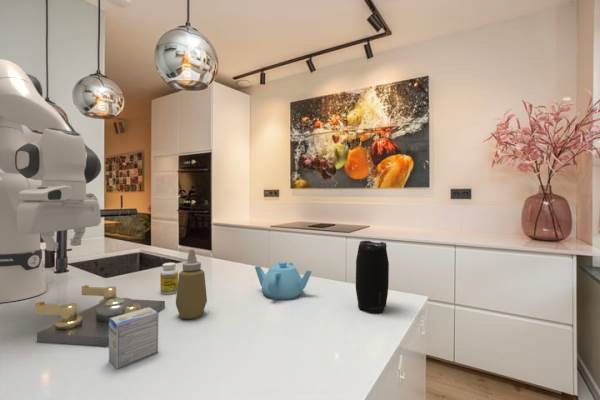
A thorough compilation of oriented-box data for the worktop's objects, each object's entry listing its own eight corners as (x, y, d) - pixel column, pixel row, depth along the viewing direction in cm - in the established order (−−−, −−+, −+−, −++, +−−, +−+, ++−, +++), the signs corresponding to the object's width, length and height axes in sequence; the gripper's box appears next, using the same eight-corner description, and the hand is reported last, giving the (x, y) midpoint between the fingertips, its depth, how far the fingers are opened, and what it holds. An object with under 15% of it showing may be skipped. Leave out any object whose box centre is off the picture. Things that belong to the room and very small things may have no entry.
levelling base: (36, 342, 65) (36, 316, 65) (110, 305, 87) (110, 286, 87) (108, 346, 63) (108, 320, 63) (164, 307, 85) (164, 288, 85)
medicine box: (149, 345, 64) (149, 306, 64) (158, 352, 61) (159, 311, 61) (108, 361, 58) (108, 317, 58) (116, 370, 55) (116, 324, 55)
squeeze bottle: (173, 323, 75) (173, 253, 75) (177, 310, 83) (178, 247, 83) (206, 319, 77) (206, 251, 77) (207, 308, 85) (208, 246, 85)
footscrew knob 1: (87, 320, 71) (87, 301, 71) (69, 329, 66) (69, 308, 66) (48, 317, 72) (48, 299, 72) (27, 327, 67) (27, 306, 67)
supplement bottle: (176, 288, 102) (176, 261, 102) (179, 293, 98) (179, 264, 98) (159, 291, 99) (159, 263, 99) (161, 296, 95) (161, 266, 95)
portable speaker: (353, 302, 91) (354, 239, 91) (384, 304, 90) (385, 240, 90) (357, 313, 82) (358, 244, 82) (391, 315, 82) (392, 245, 82)
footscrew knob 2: (124, 301, 84) (124, 284, 84) (111, 307, 79) (111, 290, 79) (90, 299, 85) (90, 283, 85) (75, 305, 80) (75, 288, 80)
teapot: (253, 290, 102) (253, 259, 102) (291, 284, 109) (291, 255, 109) (269, 304, 89) (270, 269, 89) (312, 297, 96) (313, 264, 96)
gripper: (86, 193, 85) (86, 241, 85) (10, 192, 64) (10, 255, 65) (107, 193, 84) (107, 241, 84) (36, 193, 64) (36, 256, 64)
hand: (64, 247), depth 74 cm, fingers open, 5 cm apart
